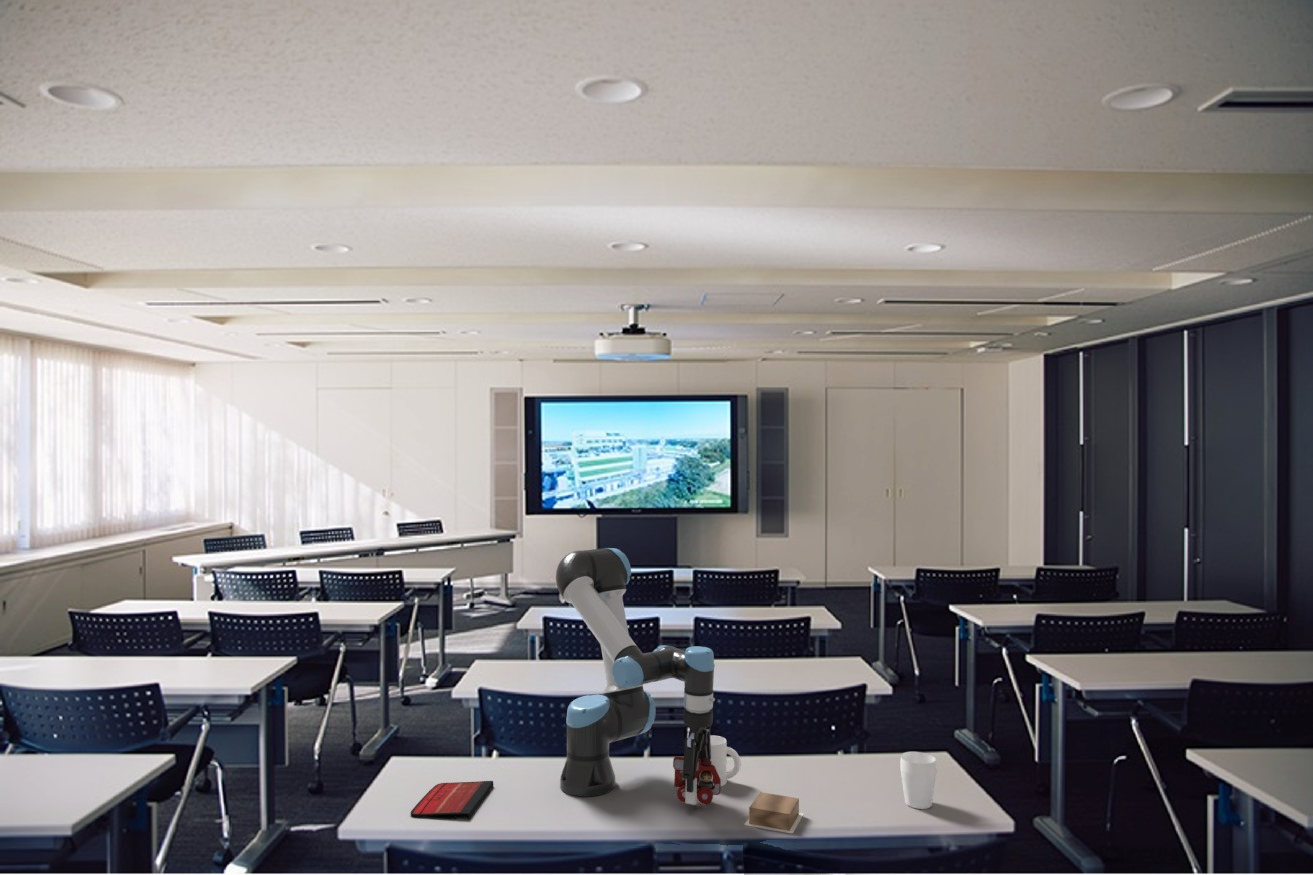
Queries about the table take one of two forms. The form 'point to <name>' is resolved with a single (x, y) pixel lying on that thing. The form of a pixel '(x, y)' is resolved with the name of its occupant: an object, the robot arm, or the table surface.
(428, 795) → the binder
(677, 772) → the toy fire truck
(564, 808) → the table surface
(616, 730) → the robot arm
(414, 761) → the table surface
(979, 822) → the table surface
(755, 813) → the base block
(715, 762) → the mug
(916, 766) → the cup
